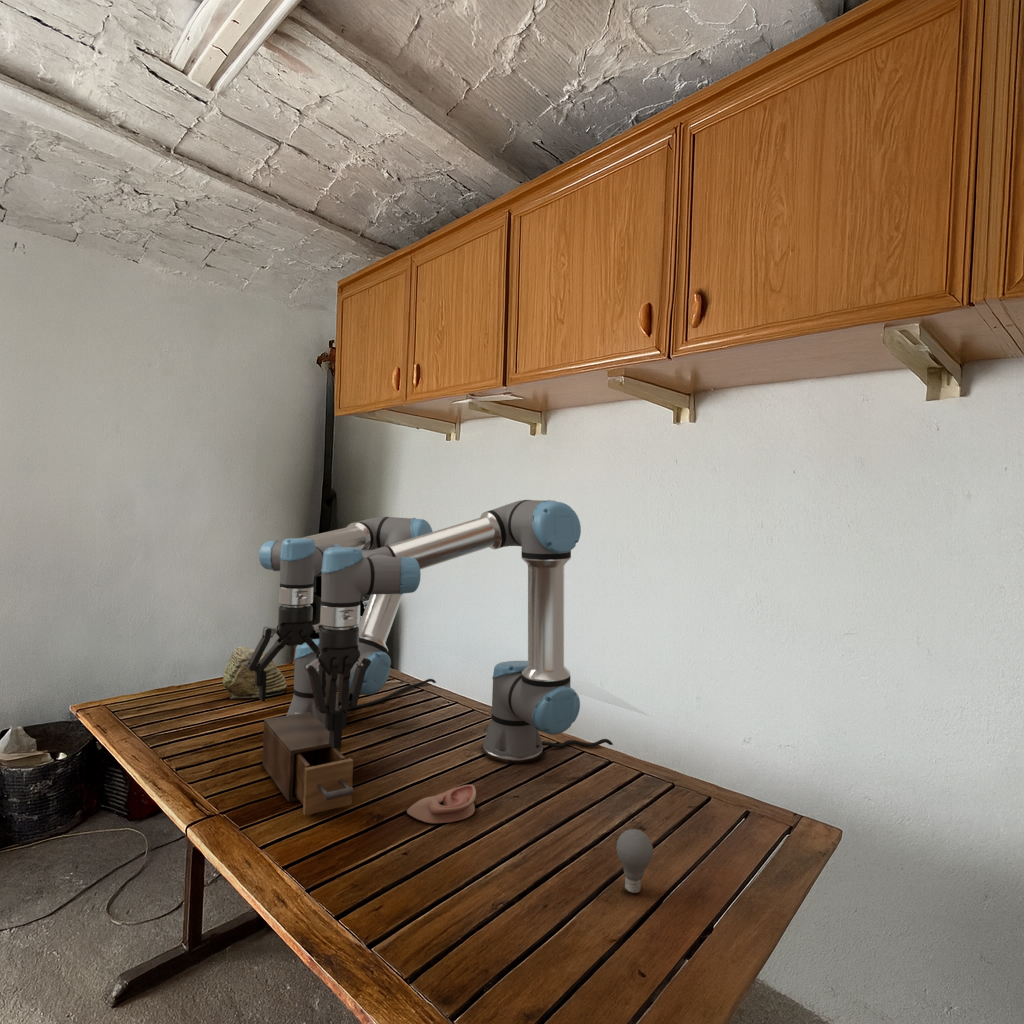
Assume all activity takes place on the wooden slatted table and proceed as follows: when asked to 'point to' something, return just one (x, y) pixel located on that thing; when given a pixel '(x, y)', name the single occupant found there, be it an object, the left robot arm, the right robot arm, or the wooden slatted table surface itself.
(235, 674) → the fossil
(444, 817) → the anatomical model
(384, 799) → the wooden slatted table surface
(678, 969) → the wooden slatted table surface
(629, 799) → the wooden slatted table surface
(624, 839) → the light bulb
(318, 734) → the cabinet
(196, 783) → the wooden slatted table surface
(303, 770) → the drawer
